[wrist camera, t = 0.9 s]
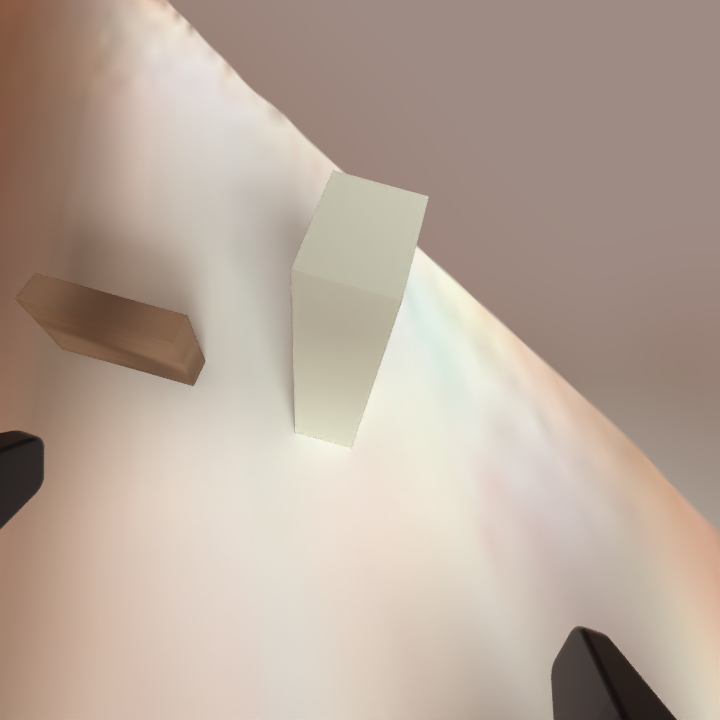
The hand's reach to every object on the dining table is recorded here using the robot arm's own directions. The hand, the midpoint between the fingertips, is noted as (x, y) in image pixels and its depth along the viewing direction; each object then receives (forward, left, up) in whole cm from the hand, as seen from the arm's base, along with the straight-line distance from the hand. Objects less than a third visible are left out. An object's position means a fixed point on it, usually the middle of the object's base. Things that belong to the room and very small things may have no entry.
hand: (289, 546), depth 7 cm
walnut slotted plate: (-7, +18, -14) cm, 25 cm away
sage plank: (+6, +6, -14) cm, 17 cm away
